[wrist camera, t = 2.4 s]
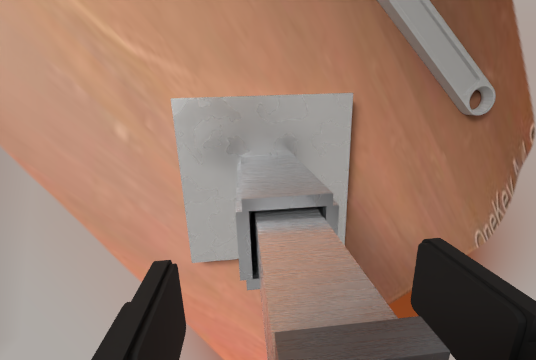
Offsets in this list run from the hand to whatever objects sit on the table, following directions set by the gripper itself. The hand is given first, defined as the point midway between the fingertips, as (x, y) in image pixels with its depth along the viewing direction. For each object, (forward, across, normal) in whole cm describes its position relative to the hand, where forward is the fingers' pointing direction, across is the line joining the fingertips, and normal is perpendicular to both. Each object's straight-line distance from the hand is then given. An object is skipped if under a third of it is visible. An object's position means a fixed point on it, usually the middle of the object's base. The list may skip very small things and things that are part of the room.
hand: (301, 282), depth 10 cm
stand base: (+14, 0, 0) cm, 14 cm away
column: (+13, 0, 0) cm, 13 cm away
